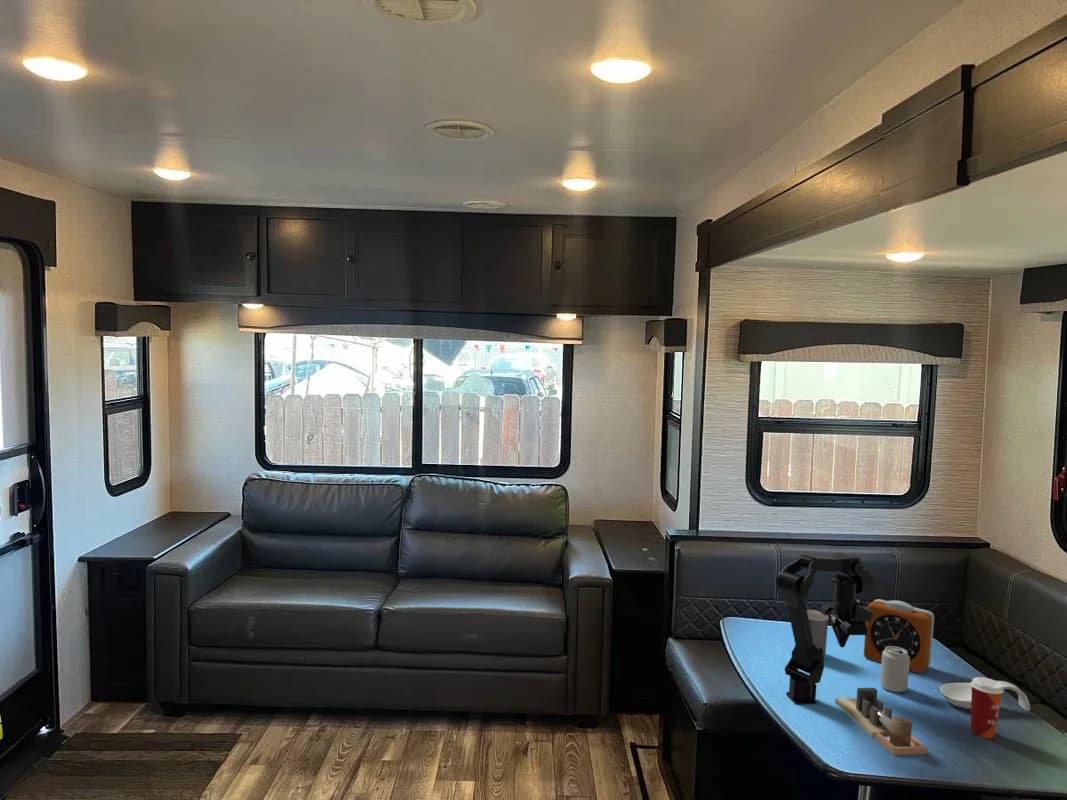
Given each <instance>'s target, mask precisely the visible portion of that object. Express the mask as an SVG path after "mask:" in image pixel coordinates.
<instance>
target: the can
mask: <svg viewBox="0 0 1067 800" xmlns="http://www.w3.org/2000/svg"><path fill="white" fill-rule="evenodd" d="M909 662H910V657H909V655H908V652H907V651H906V650H905V649H903V648H900V647H895V646H887V647H885V650H884V651H883V652H882V663H880V664H881V665H880V677H879V681H880V682H879V683H880V685H881V686H882V688H883V689H884V690H887V691H889V692H891V693H899V694H901V693H905V691H907V690H908V685H909V683H908V682H909V674H910V673H909V672H910V671H909Z"/></svg>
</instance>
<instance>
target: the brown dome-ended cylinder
mask: <svg viewBox="0 0 1067 800" xmlns="http://www.w3.org/2000/svg"><path fill="white" fill-rule="evenodd" d="M912 731H913V722H912V720H910V719H909V718H907V717H903V716H899V715H897V716H895V715H894V716H893V717H892V722H891V732H890V736H889V737H890V743H891V744H892V745H894V746H896V747H900V746H910V742H911V735H912Z"/></svg>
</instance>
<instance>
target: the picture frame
mask: <svg viewBox="0 0 1067 800" xmlns="http://www.w3.org/2000/svg"><path fill="white" fill-rule="evenodd" d="M875 740H876V741H877V742H878V743H879V744H880V745H881V746H883V747H884V748H885V749H886V751H888V752H889V753H890V754H891V755H892V756H901V755H902V756H903V755H904V756H905V755H907V756H909V755H927V752H928V751H927V747H926V746H925V745H924V744H923V743H922V742H921V741H920V740H918V739H917V738H916V737H915V736H914V735H912V734H911V742H910V746H900V747H896V746H894V745H892V744H891V743H890V736H883V735H881V734H880V733H876V736H875Z"/></svg>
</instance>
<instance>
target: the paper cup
mask: <svg viewBox="0 0 1067 800" xmlns="http://www.w3.org/2000/svg"><path fill="white" fill-rule="evenodd" d="M997 681H998V680H994V679H992V678H988V677H980V676H978V677H977V676H976V677H973V678H972V681H971V682H969V683H970V684H971V686H972V695H971V709H970V731H971V733H972V734H974V735H976V736H978V737H981V738H984V739H994V738H995V737H996V733H997V732H996V731H997V726H998V721H999V715H1000V714H999V713H1000V710H1001V709H1000V708H1001V701H1002V696H1003V693H1004V692H1005V691H1004V690H1005V689H1003V688H1002V685H1001V684H1000V683H999V682H997Z"/></svg>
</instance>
